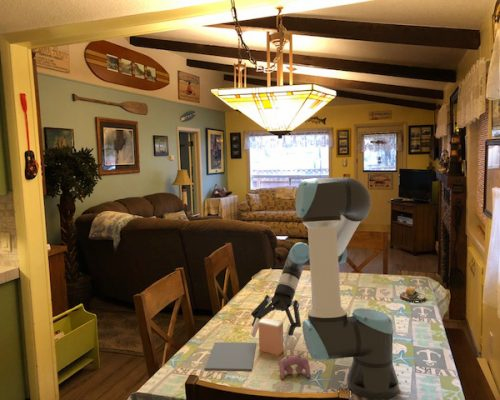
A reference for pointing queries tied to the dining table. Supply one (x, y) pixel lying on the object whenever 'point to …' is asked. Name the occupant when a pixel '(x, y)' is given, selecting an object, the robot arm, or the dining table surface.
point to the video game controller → (294, 360)
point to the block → (271, 336)
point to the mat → (231, 356)
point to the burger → (412, 295)
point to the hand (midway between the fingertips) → (268, 339)
